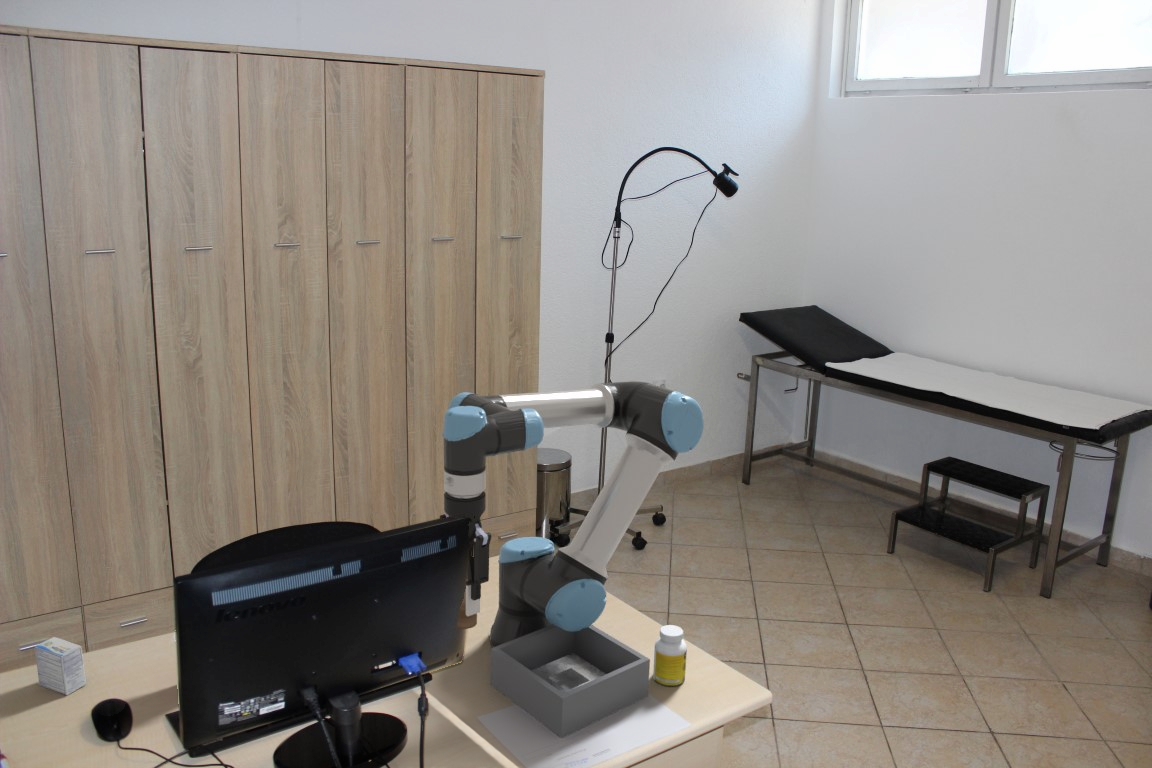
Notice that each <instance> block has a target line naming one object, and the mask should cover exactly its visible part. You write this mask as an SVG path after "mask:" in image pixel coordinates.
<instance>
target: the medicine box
mask: <svg viewBox="0 0 1152 768" xmlns="http://www.w3.org/2000/svg"><path fill="white" fill-rule="evenodd" d="M34 653H35V660H36V668H37V676H38V684H39V686H40V687H44V688H47V689H49V690H52V691H55V692H57V693H60V694H63V695H66V696H68V695H70V694H72V693H74V692H76V691H77V690H79V689H81V688H83V687H85V686H86V685H87V680H86V673H85V665H84V658H83V657H84V656H83V649H82V646H81V645H79V644H76V643H73V642H70V641H68V640H65V639H62V638H60V637H56V636H53V637H50V638H49V639H46V640H44V641H43V642H41V643H38V644H37V645H36V646H34Z"/></svg>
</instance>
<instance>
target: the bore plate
mask: <svg viewBox="0 0 1152 768" xmlns="http://www.w3.org/2000/svg"><path fill="white" fill-rule="evenodd" d="M531 671H532V672H533V673H535V674H536V675H538V676H539V677H541V678H542V679H544V680H545V681H546V682H548V683H549V684H551V685H552V686H554V687H555V688H556V689H558V690H559V691H561V692H562V693H566V692H568V691H570V690H573V689H575V688H577V687H579V686H581V685H584V684H586V683H588V682H590V681H593V680H595V679H597V678H599V677H602V676H604V675H606V673H604V672H602V671H601V670H599V669H598V668H596V667H595V666H593V665H591V664H590V663H588V662H587V661H585V660H584V659H582V658H580V657H579V656H577V655H576V654H574V653H572V654H570V655H567V656H565V657H562V658H560V659H558V660H555V661H553V662H550V663H548V664H546V665H543V666H541V667H538V668H536V669H534V670H531ZM569 679H571V680H573V681H574V682H576V683H577V684H579V686H577V687H574V688H572V689H570V690H568V691H567V690H566V689H564V688H563V687H562V686H560V685H559V684H560V683H563V682H565V681H567V680H569Z"/></svg>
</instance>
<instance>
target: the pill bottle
mask: <svg viewBox="0 0 1152 768" xmlns="http://www.w3.org/2000/svg"><path fill="white" fill-rule="evenodd" d="M687 652H688V646H687V643H686V642H685V640H684V630H683V629H682V627H680V626H678V625H673V624H666V625H662V626H661V627H660V630H659V638H657V640H655V643H654V653H653V654H654V656H653V674H652V675H653V676H652V679H653V680H654V682H655V683H656V684H658V685H660V686H662V687H667V688H676V687H679V686H682V685H683V684H684V683H685V680H686V670H687V669H686V668H687Z"/></svg>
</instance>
